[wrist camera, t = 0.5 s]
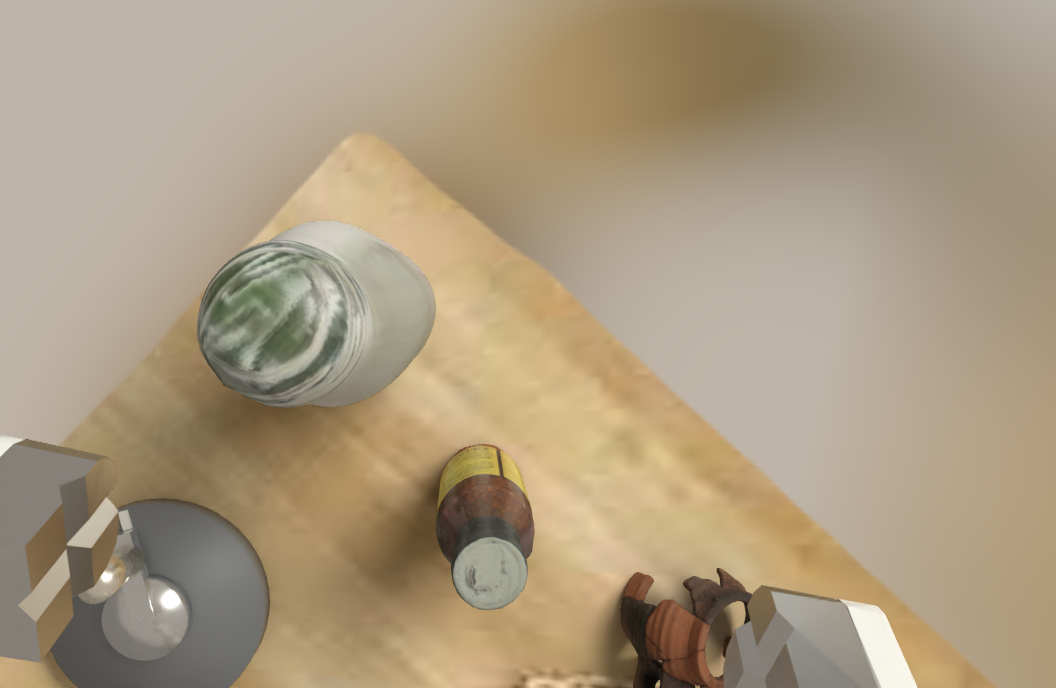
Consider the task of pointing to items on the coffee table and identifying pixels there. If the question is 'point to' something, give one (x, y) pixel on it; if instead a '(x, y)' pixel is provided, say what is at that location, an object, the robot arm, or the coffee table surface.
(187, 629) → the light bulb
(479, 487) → the sauce bottle
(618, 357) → the coffee table surface
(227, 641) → the dial plate
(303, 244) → the grey bottle
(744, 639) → the robot arm
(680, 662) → the pottery mug
